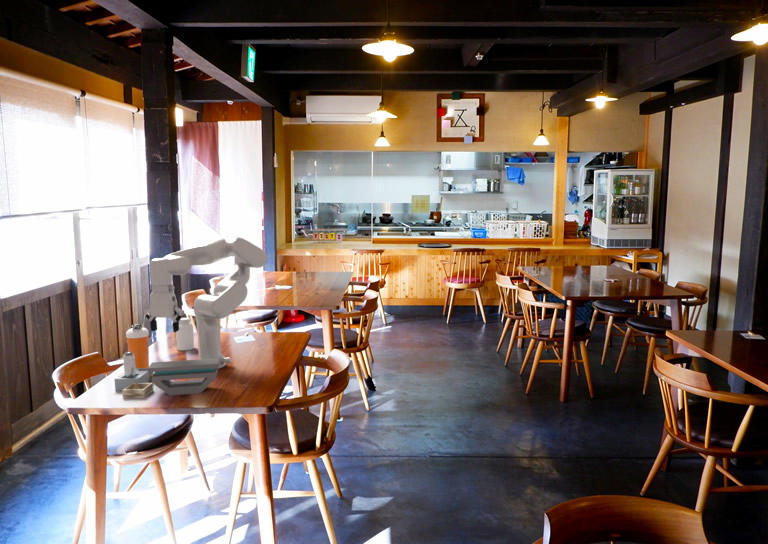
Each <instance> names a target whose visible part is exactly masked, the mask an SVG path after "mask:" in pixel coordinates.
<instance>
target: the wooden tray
mask: <svg viewBox="0 0 768 544" xmlns="http://www.w3.org/2000/svg"><path fill="white" fill-rule="evenodd" d="M121 391H122V398H124V399H127V398H128V399H129V398H130V399H135V398H136V399H137V398H138V399H139V398H140V399H143V398H144V399H145V398H146V397H147V396H149V395H150V394H151V393H152V392H154V384H153V383H152V382H149V383H132V384H130V385H129V386H127V387H126V388H124V389H123V390H121ZM149 393H150V394H149Z"/></svg>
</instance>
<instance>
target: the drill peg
mask: <svg viewBox="0 0 768 544" xmlns="http://www.w3.org/2000/svg"><path fill="white" fill-rule="evenodd" d="M122 357H123V359H122V360H123V369H124V371H123V373H125V378H135V377H136V368H135V355H134V354H133V352H129V351H127V352H126V351H125V352H124V354H123V355H122Z"/></svg>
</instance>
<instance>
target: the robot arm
mask: <svg viewBox="0 0 768 544" xmlns="http://www.w3.org/2000/svg"><path fill="white" fill-rule="evenodd" d="M230 257H234V264H233V265H234V266H233V270H231V272H230V273H229V274H227V275H226V276H225V277H224V278H222V280H220V281H219V282H218V283H217V284H216V285H215V286H214V287H213V294H207V293H204V294H200V295H198V296H197V297H196V298H195V300H194V302H193V311H194V316H195V320H196V321H195V322H196V331H197V348H198V360H200V359H216V358H220V364H219V367H218V368H217V369H218V370H219V369H222V368H224V367H225V366H226V365H227V364H230V363H232V358H231V357H230V356H229V357H225V354H223V353H222V343H221V342H222V339H221V325H220V323H221V322H220V320H223V319H225V318H227V317H228V316H229V315H231V313H233V312H234V311H235V310H236V309H238V307H239V306H241V304H242V303H243V302H244V301H245V300H246V298H247V296H248V287H247V284H248V282H249V280H250V276H251V275H250V274H251V273H250V271H251V269H250V268H255V269H258V268H259V269H260V268H262V267H265V265H266V263H267V260H268V257H267V254H266V252H265V251H264V250H263V249H262V248H260V247H258V246H257V245H255V244H254V243H252V242H250V241H249V240H247V239H245V238H242V237H238V236H237V237H236V236H226V237H222V238H220V239H217V240H213V241H211V242H208V243H205V244H202V245H197V246H194V247H190V248H185V249H183V250H178V251H176V252H172V253H169V254H166V255H165V256H163V257H160V258H159V257H156V258H153V259H151V260H150V262H149V265H150V266H149V267H150V282H151V293H150V297H149V307H148V308H145V309H144V310H143V311H142V312H143V313H144V315H145V318H146V319H147V320H148V322H149V324H150V330H151V331H150V332H156V331H157V330H158V321H157V320H156V319H157V318H162V319H163V318H166V319H167V318H168V319H169V318H170V319H171V320H172V332H174V333H176V331H179V321H180V319H181V318H183V316H184V313H185V311H184V310H183V309H181V308H180V307H178V301H177V297H176V294H175V291H174V290H175V289H176V288H175V286H174V285H173V284H172V283H173V282H172V276H183V275H187V274H188V273H189V272H190V271H191V269H192V267H193V266H205V265H211V264H214V263H215V262H219V261H221V260H224V259H227V258H230Z"/></svg>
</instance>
